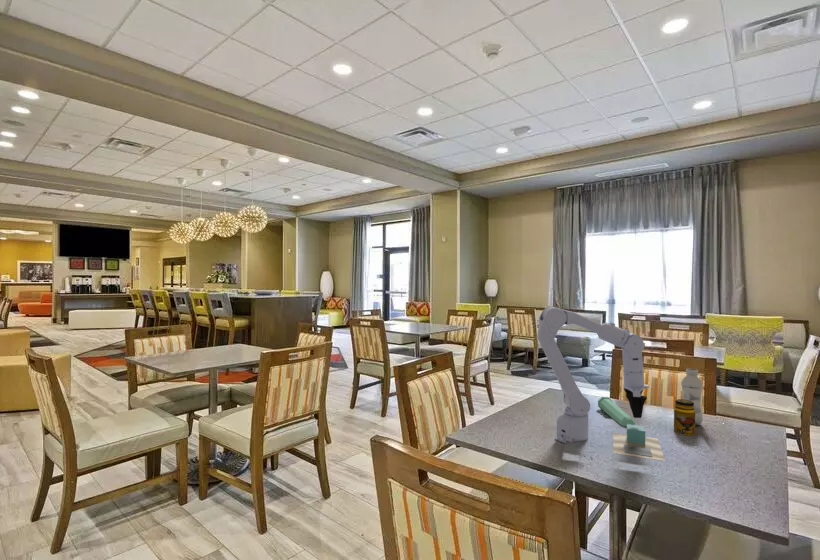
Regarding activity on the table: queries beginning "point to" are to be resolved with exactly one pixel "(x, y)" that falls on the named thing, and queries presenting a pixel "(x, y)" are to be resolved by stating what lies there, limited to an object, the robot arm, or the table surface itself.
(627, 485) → the table surface
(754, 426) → the table surface
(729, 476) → the table surface
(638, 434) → the teal slotted block
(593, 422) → the table surface
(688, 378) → the plastic bottle
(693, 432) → the condiment
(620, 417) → the pale green rod
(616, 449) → the post board
